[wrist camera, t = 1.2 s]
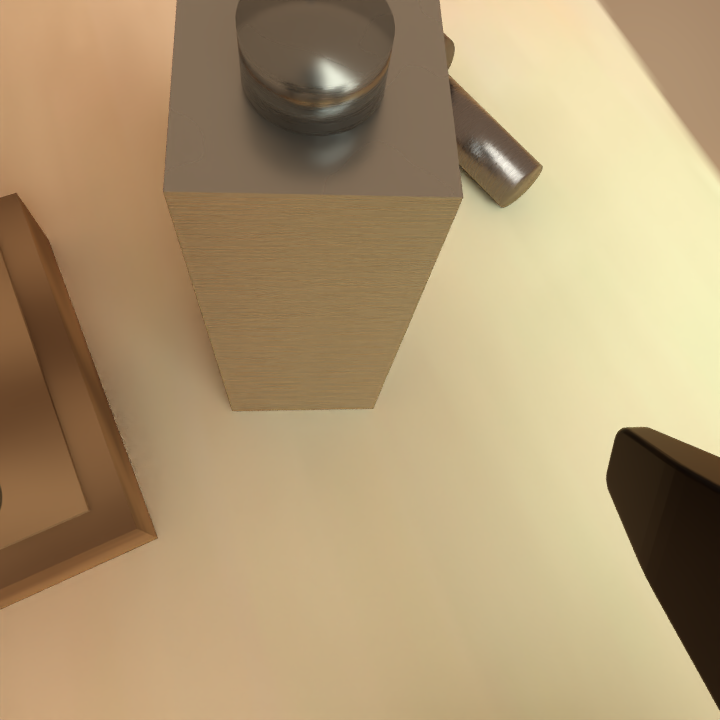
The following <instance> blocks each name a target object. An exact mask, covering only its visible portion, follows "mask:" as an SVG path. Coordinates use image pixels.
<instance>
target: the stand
mask: <svg viewBox="0 0 720 720" xmlns="http://www.w3.org/2000/svg"><path fill="white" fill-rule="evenodd" d="M0 485H1V489H2V506H1V510H0V609H2V608H4V607H7V606H9V605H11V604H13V603H15V602H18V601H20V600H22V599H24V598H26V597H29V596H31V595H33V594H35V593H38V592H40V591H42V590H44V589H46V588H49V587H51V586H53V585H55V584H57V583H60V582H62V581H64V580H66V579H68V578H71V577H73V576H75V575H77V574H80V573H82V572H84V571H86V570H88V569H91V568H93V567H95V566H97V565H99V564H102V563H104V562H106V561H108V560H110V559H113V558H115V557H117V556H119V555H121V554H124V553H126V552H128V551H130V550H133V549H135V548H137V547H139V546H141V545H144V544H146V543H148V542H150V541H152V540H155V539H157V538H158V537H157V535H156V532H155V529H154V526H153V524H152V521H151V518H150V516H149V513H148V510H147V507H146V505H145V502H144V499H143V496H142V494H141V491H140V488H139V486H138V483H137V480H136V477H135V475H134V472H133V469H132V466H131V464H130V461H129V458H128V456H127V453H126V450H125V447H124V445H123V442H122V439H121V436H120V434H119V431H118V428H117V426H116V423H115V420H114V417H113V415H112V412H111V409H110V407H109V404H108V401H107V398H106V396H105V393H104V390H103V387H102V385H101V382H100V379H99V377H98V374H97V371H96V368H95V366H94V363H93V360H92V357H91V355H90V352H89V349H88V347H87V344H86V341H85V338H84V336H83V333H82V330H81V327H80V325H79V322H78V319H77V317H76V314H75V311H74V308H73V306H72V303H71V300H70V297H69V295H68V292H67V289H66V287H65V284H64V281H63V278H62V276H61V273H60V270H59V267H58V265H57V262H56V259H55V257H54V254H53V251H52V248H51V246H50V243H49V240H48V239H47V237H46V236H45V234H44V233H43V231H42V230H41V228H40V227H39V225H38V224H37V222H36V221H35V220H34V218H33V217H32V215H31V214H30V212H29V211H28V209H27V208H26V206H25V205H24V203H23V202H22V200H21V199H20V197H19V196H18V194H17V193H15V194H11V195H8V196H5V197H2V198H0Z"/></svg>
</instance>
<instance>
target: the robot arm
mask: <svg viewBox="0 0 720 720" xmlns="http://www.w3.org/2000/svg"><path fill="white" fill-rule="evenodd" d="M606 481H607V487H608V490H609V493H610V495H611V498H612V500H613V502H614V505H615V507H616V510H617V512H618V514H619V517H620V519H621V521H622V524H623V526H624V528H625V531H626V533H627V536H628V538H629V540H630V543H631V545H632V547H633V550H634V552H635V554H636V557H637V559H638V561H639V564H640V566H641V568H642V570H643V572H644V574H645V576H646V578H647V580H648V582H649V584H650V586H651V588H652V590H653V592H654V593H655V595H656V597H657V599H658V601H659V602H660V604H661V606H662V608H663V610H664V611H665V613H666V615H667V617H668V619H669V620H670V622H671V624H672V626H673V628H674V629H675V631H676V633H677V635H678V637H679V638H680V640H681V642H682V644H683V646H684V647H685V649H686V651H687V653H688V655H689V656H690V658H691V660H692V662H693V664H694V665H695V667H696V669H697V671H698V673H699V674H700V676H701V678H702V680H703V682H704V683H705V685H706V687H707V689H708V691H709V692H710V694H711V696H712V698H713V700H714V701H715V703H716V705H717V707H718V709H719V710H720V457H718V456H715V455H713V454H711V453H708V452H706V451H703V450H701V449H699V448H696V447H694V446H692V445H689V444H687V443H684V442H682V441H680V440H677V439H675V438H672V437H670V436H668V435H665V434H663V433H660V432H658V431H656V430H653V429H651V428H648V427H626V428H622V429H621V430H619V431H618V432H617V434H616V437H615V440H614V444H613V448H612V452H611V457H610V461H609V465H608V469H607V475H606ZM1 506H2V489H1V485H0V510H1Z"/></svg>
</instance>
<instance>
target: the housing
mask: <svg viewBox="0 0 720 720" xmlns="http://www.w3.org/2000/svg"><path fill="white" fill-rule="evenodd" d="M163 192H164V196H165V199H166V202H167V205H168V208H169V212H170V215H171V218H172V221H173V224H174V227H175V231H176V234H177V237H178V240H179V243H180V246H181V250H182V253H183V256H184V259H185V262H186V265H187V269H188V272H189V275H190V278H191V281H192V284H193V288H194V291H195V294H196V297H197V300H198V303H199V307H200V310H201V313H202V316H203V319H204V322H205V326H206V329H207V332H208V335H209V338H210V341H211V345H212V348H213V351H214V354H215V357H216V361H217V364H218V367H219V370H220V373H221V376H222V380H223V383H224V386H225V389H226V392H227V395H228V399H229V402H230V405H231V408H232V411H265V410H324V409H373V408H374V405H375V403H376V401H377V398H378V396H379V394H380V391H381V389H382V387H383V384H384V382H385V380H386V377H387V375H388V373H389V370H390V368H391V365H392V363H393V361H394V358H395V356H396V354H397V351H398V349H399V347H400V344H401V342H402V340H403V337H404V335H405V333H406V330H407V328H408V326H409V323H410V321H411V319H412V316H413V314H414V312H415V309H416V307H417V305H418V302H419V300H420V297H421V295H422V293H423V290H424V288H425V286H426V283H427V281H428V279H429V276H430V274H431V272H432V269H433V267H434V265H435V262H436V260H437V258H438V255H439V253H440V251H441V248H442V246H443V244H444V241H445V239H446V237H447V234H448V232H449V229H450V227H451V225H452V222H453V220H454V218H455V215H456V213H457V211H458V208H459V206H460V204H461V201H462V199H463V192H462V184H461V176H460V167H459V159H458V151H457V143H456V134H455V126H454V118H453V109H452V101H451V93H450V84H449V76H448V68H447V59H446V51H445V43H444V34H443V26H442V18H441V10H440V1H439V0H177V6H176V20H175V34H174V48H173V62H172V76H171V90H170V104H169V118H168V132H167V146H166V160H165V174H164V188H163Z"/></svg>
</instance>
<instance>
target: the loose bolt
mask: <svg viewBox="0 0 720 720" xmlns="http://www.w3.org/2000/svg"><path fill="white" fill-rule="evenodd" d="M443 34H444V33H443ZM444 43H445V51H446V59H447V68H448V69H449V67H450V65H451V63H452V60H453V57H454V51H455V47H454V43H453V41H452V40H451V39H450V38H448V37H447V36H446V35H445V34H444ZM448 76H449V84H450V93H451V101H452V109H453V118H454V126H455V134H456V143H457V151H458V159H459V165H460V166H461V167H462V168H463V169H464V170H465V171H466V172H467V173H468V174H469V175H470V176H471V177H472V178H473V179H474V180H475V181H476V182H477V183H478V184H479V185H480V186H481V187H482V188H483V189H484V190H485V191H486V192H487V193H488V194H489V195H490V196H491V197H492V198H493V199H494V200H495V201H496V202H497V203H498V204H499V205H500V206H501V207H502V208H504V207H506V206H508V205H510V204H512V203H513V202H514V201H516V200H517V199H518V198H519V197H520V196H521V195H523V194H524V193H525V192H526V191H527V190H528V189H529V188H530V186H531V185H532V184H533V183H534V182H535V180H536V179H537V178H538V176H539V175H540V173H541V171H542V168H543V167H542V165H541V164H540V163H539V162H538V161H537V160H536V159H535V158H534V157H533V156H532V155H531V154H530V153H528V152H527V151H526V150H525V149H524V148H523V147H522V146H521V145H520V144H519V143H518V142H517V141H516V140H515V139H514V138H513V137H512V136H511V135H510V134H509V133H508V132H507V131H506V130H505V129H504V128H503V127H502V126H501V125H500V124H499V123H498V122H497V121H496V120H495V119H494V118H493V117H492V116H491V115H490V114H489V113H488V112H487V111H485V110H484V109H483V108H482V107H481V106H480V105H479V104H478V103H477V102H476V101H475V100H474V99H473V98H472V97H471V96H470V95H469V94H468V93H467V92H466V91H465V90H464V89H463V88H462V87H461V86H460V85H459V84H458V83H457V82H456V81H455V80H454V79H453V78H452V77H451V76H450V75H449V74H448Z"/></svg>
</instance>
